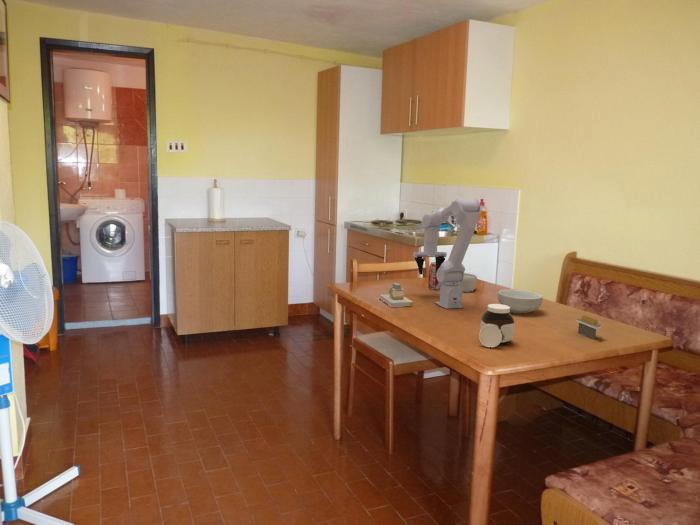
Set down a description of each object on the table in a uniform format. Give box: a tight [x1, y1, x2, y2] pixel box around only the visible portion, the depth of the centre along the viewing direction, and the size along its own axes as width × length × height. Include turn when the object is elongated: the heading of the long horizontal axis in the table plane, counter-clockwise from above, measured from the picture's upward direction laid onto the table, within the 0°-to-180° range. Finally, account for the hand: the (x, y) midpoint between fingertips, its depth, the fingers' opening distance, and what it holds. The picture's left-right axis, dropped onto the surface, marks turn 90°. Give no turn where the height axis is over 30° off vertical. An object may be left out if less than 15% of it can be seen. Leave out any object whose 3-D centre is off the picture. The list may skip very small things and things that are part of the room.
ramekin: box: [459, 272, 478, 293], centre depth 247 cm, size 13×13×7 cm
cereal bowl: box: [497, 289, 543, 314], centre depth 211 cm, size 17×17×7 cm
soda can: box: [427, 261, 441, 290], centre depth 247 cm, size 7×7×12 cm
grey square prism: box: [392, 282, 402, 289], centre depth 218 cm, size 3×2×2 cm, turn 18°
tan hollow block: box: [388, 286, 405, 300], centre depth 218 cm, size 6×4×4 cm
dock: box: [379, 293, 414, 308], centre depth 219 cm, size 14×9×2 cm, turn 15°
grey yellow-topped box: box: [575, 315, 602, 340], centre depth 180 cm, size 12×18×7 cm, turn 17°
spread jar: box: [478, 303, 515, 348], centre depth 169 cm, size 12×11×12 cm
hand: (429, 273), depth 230 cm, fingers open, 7 cm apart
